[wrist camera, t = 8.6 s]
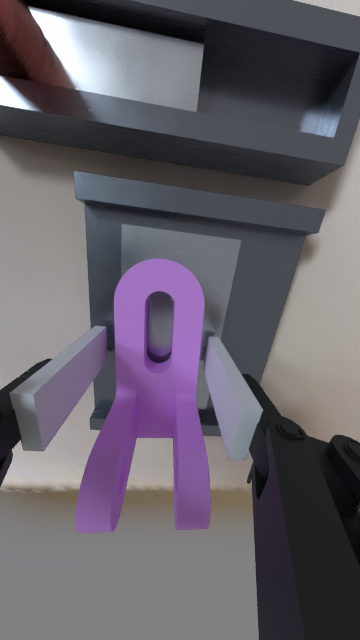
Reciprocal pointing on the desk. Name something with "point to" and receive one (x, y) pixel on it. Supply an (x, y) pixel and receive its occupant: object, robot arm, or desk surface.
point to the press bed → (192, 269)
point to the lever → (98, 57)
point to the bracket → (151, 402)
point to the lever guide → (215, 90)
